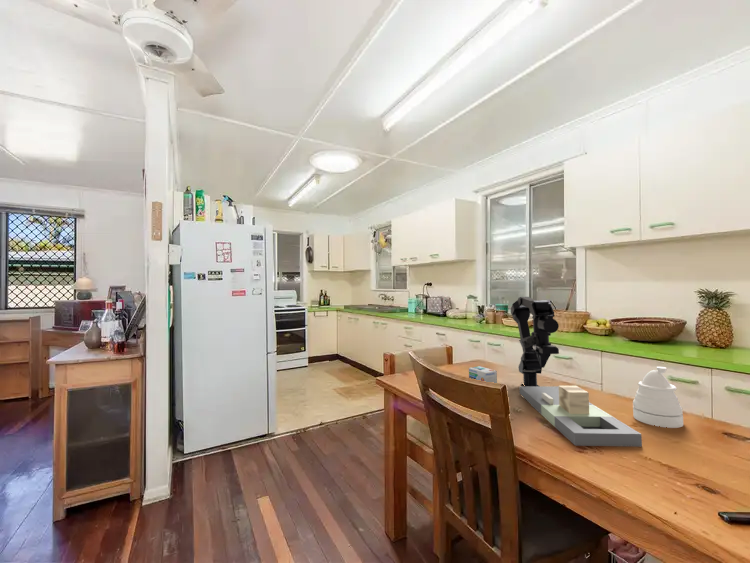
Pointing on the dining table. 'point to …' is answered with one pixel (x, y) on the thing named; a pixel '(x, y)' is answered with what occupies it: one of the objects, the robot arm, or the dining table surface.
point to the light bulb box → (483, 374)
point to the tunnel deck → (580, 420)
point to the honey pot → (657, 401)
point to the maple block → (574, 399)
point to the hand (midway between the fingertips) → (542, 367)
